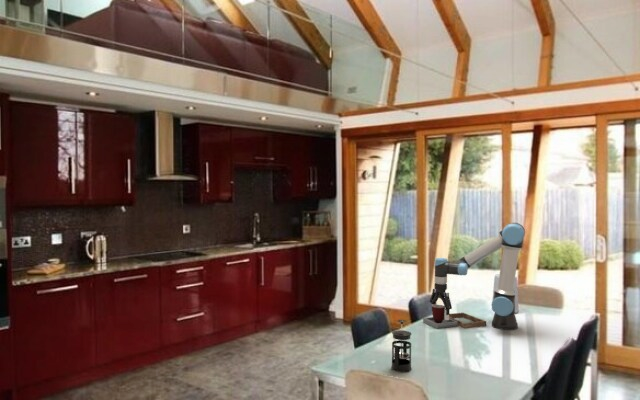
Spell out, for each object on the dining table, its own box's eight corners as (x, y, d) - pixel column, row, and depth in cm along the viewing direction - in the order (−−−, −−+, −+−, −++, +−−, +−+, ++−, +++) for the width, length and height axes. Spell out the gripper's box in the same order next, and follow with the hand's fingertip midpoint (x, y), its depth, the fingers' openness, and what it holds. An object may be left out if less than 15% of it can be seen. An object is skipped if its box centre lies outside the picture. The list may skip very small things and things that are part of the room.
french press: (396, 363, 242) (396, 316, 242) (414, 367, 237) (415, 318, 237) (386, 370, 232) (387, 321, 232) (405, 374, 227) (406, 324, 227)
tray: (457, 326, 307) (457, 321, 307) (436, 329, 302) (437, 324, 302) (443, 320, 321) (443, 315, 321) (423, 322, 316) (423, 318, 316)
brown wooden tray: (486, 326, 309) (486, 321, 309) (464, 328, 303) (464, 323, 303) (462, 317, 330) (462, 312, 330) (442, 319, 324) (442, 314, 324)
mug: (451, 322, 311) (451, 306, 311) (444, 325, 305) (444, 309, 304) (435, 319, 318) (435, 304, 318) (429, 322, 312) (429, 306, 312)
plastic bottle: (489, 309, 353) (490, 269, 352) (510, 308, 354) (510, 269, 354) (499, 314, 338) (500, 273, 337) (521, 314, 339) (521, 272, 339)
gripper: (424, 279, 321) (423, 312, 321) (447, 287, 298) (447, 322, 298) (434, 279, 324) (433, 311, 324) (458, 286, 300) (457, 321, 301)
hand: (440, 317), depth 311 cm, fingers open, 13 cm apart
